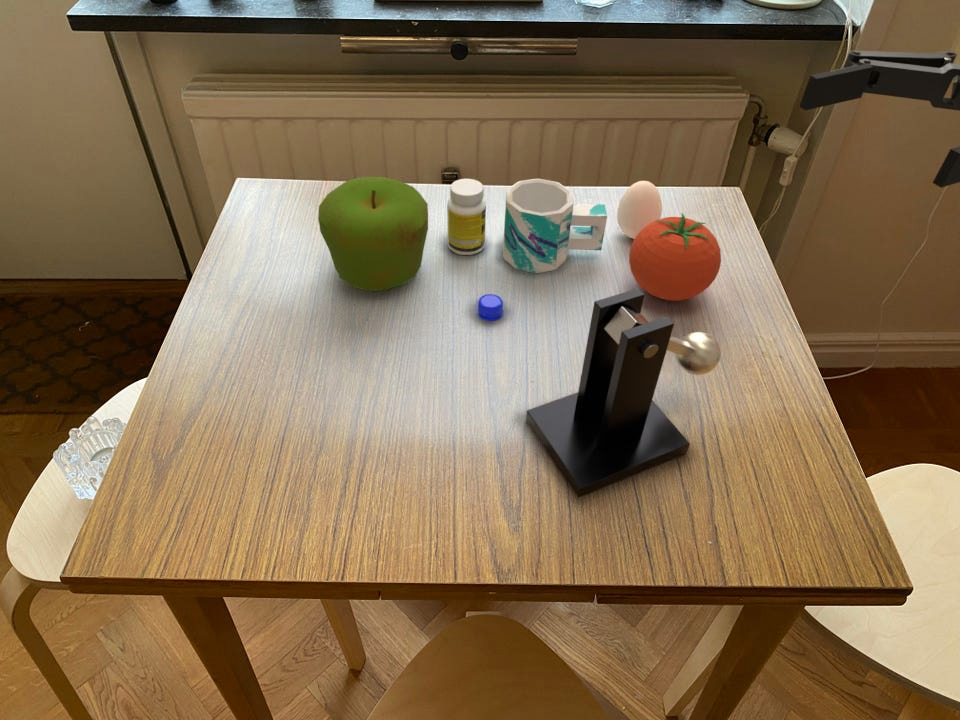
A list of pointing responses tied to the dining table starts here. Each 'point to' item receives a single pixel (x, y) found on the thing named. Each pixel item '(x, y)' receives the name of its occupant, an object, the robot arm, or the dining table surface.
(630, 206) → the egg
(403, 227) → the apple
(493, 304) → the bottle cap
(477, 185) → the supplement bottle
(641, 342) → the tap bracket
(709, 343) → the lever
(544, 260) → the mug
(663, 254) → the tomato
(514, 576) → the dining table surface
